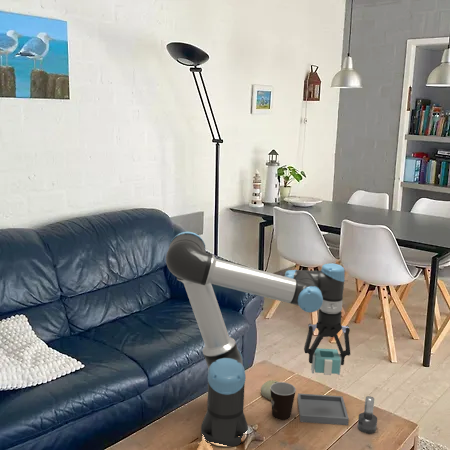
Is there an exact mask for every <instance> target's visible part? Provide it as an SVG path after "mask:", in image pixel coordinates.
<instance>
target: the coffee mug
mask: <svg viewBox="0 0 450 450" xmlns="http://www.w3.org/2000/svg"><path fill="white" fill-rule="evenodd" d="M270 389H271V400H270V401H271V403H270V404H271V415H272V417H273V418H274V419H275V420H278V421H288V420H289V419H291V417H292V411H293V407H294V401H295V395H296V391H297V388H296V387H295V386H294V385H293V384H291V383H289V382H284V381H278V382H275V383H274V384H272V385H271V387H270Z"/></svg>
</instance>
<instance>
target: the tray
mask: <svg viewBox="0 0 450 450" xmlns="http://www.w3.org/2000/svg"><path fill="white" fill-rule="evenodd" d="M297 406H298V415H299V423H310V424H324V425H326V424H327V425H340V426H349V420H350V419H349V415H348V411H347V407H346V403H345V401H344V397H343V396H341V395H324V394H313V393H312V394H311V393H297Z"/></svg>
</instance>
